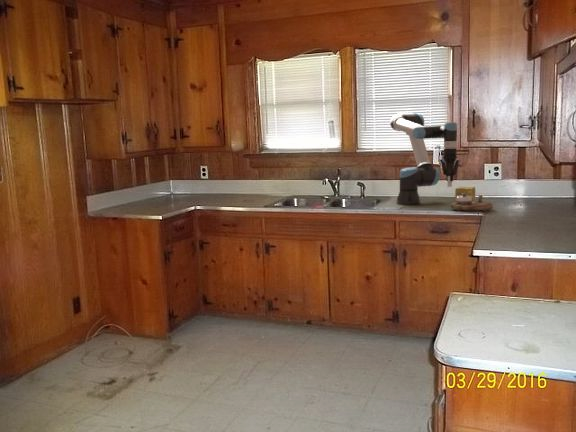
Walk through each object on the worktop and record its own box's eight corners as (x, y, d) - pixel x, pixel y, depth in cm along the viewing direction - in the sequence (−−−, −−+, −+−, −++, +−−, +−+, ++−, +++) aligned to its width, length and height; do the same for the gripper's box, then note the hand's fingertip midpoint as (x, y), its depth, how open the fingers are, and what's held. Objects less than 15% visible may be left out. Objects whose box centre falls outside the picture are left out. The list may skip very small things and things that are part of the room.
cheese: (470, 204, 353) (471, 188, 351) (454, 203, 359) (454, 188, 357) (475, 201, 362) (475, 186, 360) (458, 201, 368) (459, 186, 366)
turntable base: (455, 210, 332) (455, 207, 332) (466, 207, 342) (466, 204, 341) (476, 212, 322) (477, 209, 322) (487, 209, 332) (488, 206, 331)
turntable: (443, 207, 332) (443, 198, 331) (463, 202, 348) (463, 193, 347) (481, 211, 315) (481, 202, 314) (499, 205, 332) (500, 196, 331)
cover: (453, 203, 335) (453, 194, 334) (460, 202, 341) (461, 192, 340) (467, 205, 329) (467, 195, 327) (474, 203, 335) (474, 193, 334)
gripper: (437, 148, 338) (437, 186, 342) (457, 148, 329) (456, 187, 333) (443, 147, 343) (443, 185, 347) (463, 147, 334) (462, 186, 338)
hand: (449, 186), depth 340 cm, fingers closed
